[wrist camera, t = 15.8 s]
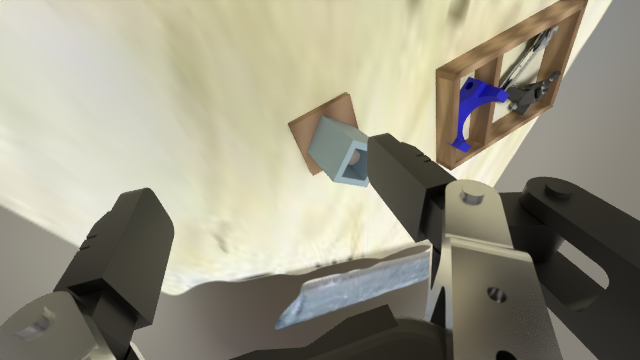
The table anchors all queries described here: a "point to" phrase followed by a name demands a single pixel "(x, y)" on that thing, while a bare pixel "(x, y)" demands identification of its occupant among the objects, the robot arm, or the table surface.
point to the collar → (340, 151)
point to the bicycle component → (530, 91)
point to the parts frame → (488, 70)
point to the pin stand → (308, 123)
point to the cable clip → (474, 104)
